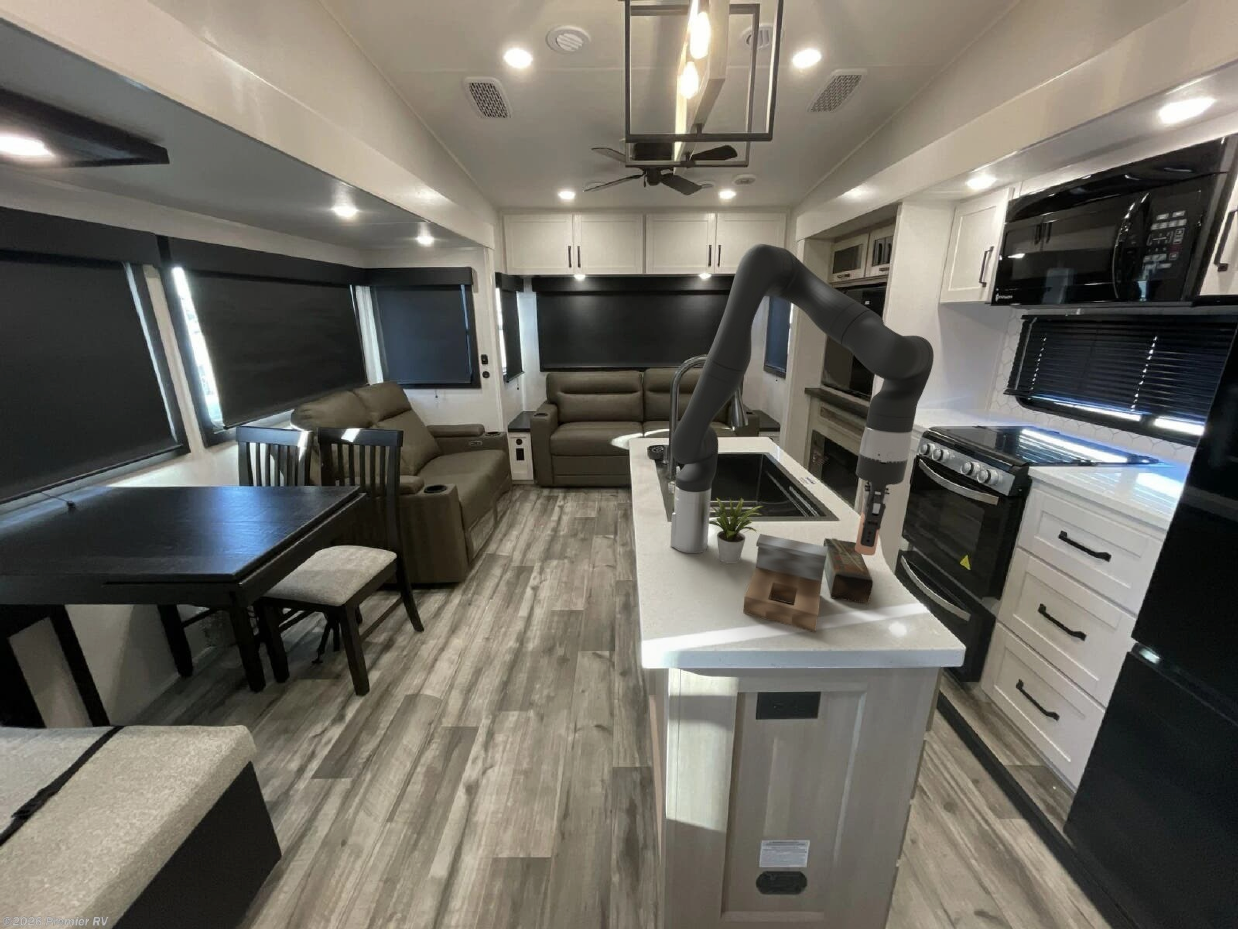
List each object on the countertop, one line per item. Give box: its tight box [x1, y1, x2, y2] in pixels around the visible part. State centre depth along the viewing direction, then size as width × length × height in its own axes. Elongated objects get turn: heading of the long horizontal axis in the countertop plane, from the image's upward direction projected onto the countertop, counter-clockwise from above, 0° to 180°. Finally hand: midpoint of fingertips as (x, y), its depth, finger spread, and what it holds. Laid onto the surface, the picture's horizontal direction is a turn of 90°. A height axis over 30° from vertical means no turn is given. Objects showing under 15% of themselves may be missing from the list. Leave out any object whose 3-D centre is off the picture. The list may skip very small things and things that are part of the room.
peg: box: [855, 501, 882, 556], centre depth 84 cm, size 3×3×10 cm
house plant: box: [708, 497, 763, 564], centre depth 113 cm, size 14×14×16 cm
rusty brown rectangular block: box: [822, 537, 874, 605], centre depth 106 cm, size 8×19×7 cm, turn 163°
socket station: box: [742, 533, 827, 633], centre depth 96 cm, size 14×14×12 cm
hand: (866, 540), depth 85 cm, fingers closed on peg, 3 cm apart
